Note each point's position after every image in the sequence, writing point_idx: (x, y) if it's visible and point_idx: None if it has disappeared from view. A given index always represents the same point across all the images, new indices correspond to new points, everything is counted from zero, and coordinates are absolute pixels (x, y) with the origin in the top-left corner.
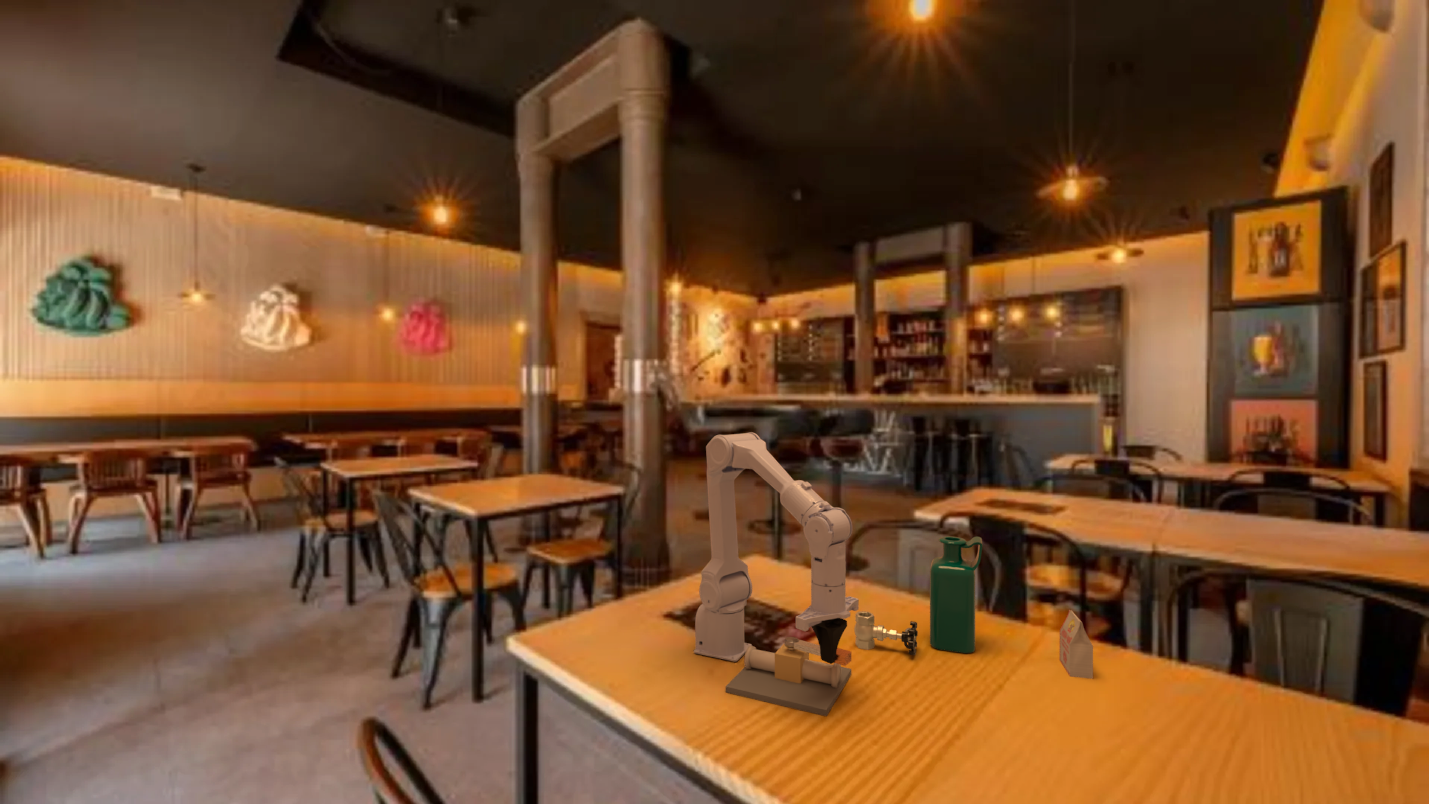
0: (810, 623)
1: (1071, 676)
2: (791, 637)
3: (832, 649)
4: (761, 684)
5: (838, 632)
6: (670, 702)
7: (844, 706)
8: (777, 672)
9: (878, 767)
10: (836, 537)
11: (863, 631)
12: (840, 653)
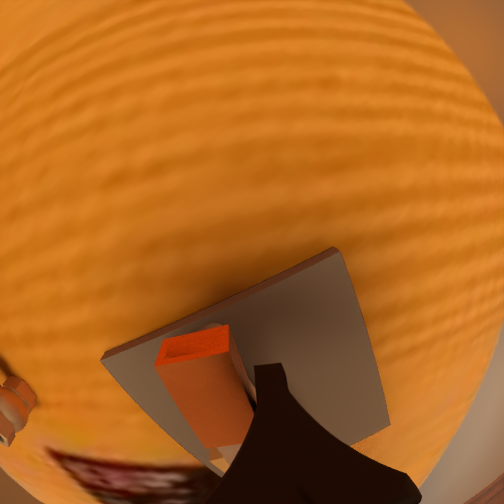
0: (491, 499)
1: None
2: None
3: (300, 405)
4: (345, 413)
5: (308, 482)
6: (444, 412)
7: (250, 252)
8: None
9: (390, 42)
10: None
11: (12, 410)
12: (221, 383)
